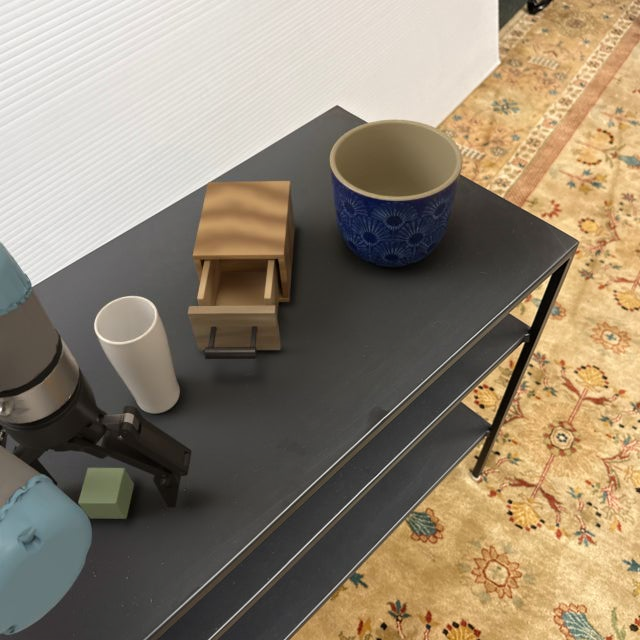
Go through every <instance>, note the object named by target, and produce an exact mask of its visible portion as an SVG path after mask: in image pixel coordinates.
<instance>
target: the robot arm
mask: <svg viewBox="0 0 640 640" xmlns="http://www.w3.org/2000/svg"><path fill="white" fill-rule="evenodd" d="M30 279H31V278H29V276H28V274H27V273H26V272H24V271H23V269H22V268H21V266H20V265H19V264H18V262H17V260H16V259H15V258H14V256H13V255H12V253H10V251H9V250H8V249H7V247H6V246H5V244H3V243H2V242H1V241H0V635H3V634H4V635H6V636H11V635H13V634H14V635H15V634H16V633H19V632H22V631H23V630H25V629H27V628H29V627H30V626H32V625H34V624H35V623H36V622H38V621H40V620H41V619H42V618H44V616H46V615H47V614H48V613H49V612H50V611H51V610H53V608H55V607H56V606H57V604H58V603H60V601H61V600H62V599H63V598H64V597H65V596H66V595H67V593H68V592H69V591H70V590H71V588H72V586H73V585H74V583H75V582H76V580H77V579H78V577H79V576H80V574H81V572H82V570H83V568H84V566H85V564H86V562H87V561H86V560H87V559H86V558H87V554H88V552H89V550H90V548H91V545H92V541H93V539H92V538H93V531H92V530H93V529H92V524H91V520H90V518H89V516H88V515H87V514H86V512H85V511H84V510H83V509H82V507H81V506H80V505H79V504H77V503H76V502H75V501H74V500H73V499H72V498H70V497H69V496H68V495H67V494H66V493H64V491H63V490H62V489H61V488H60V487H58V482H57V480H55V478H54V477H53V476H52V475H51V473H50V472H49V471H48V470H47V469H46V467H45V466H44V464H42V463H41V461H39V459H40V458H41V457H42V456H43V455H44V454H45V453H47V452H49V450H52V451H54V453H55V452H59V453H61V452H68V451H69V452H70V451H71V452H80V453H81V452H82V453H85V454H88V455H90V456H93V457H96V458H98V459H99V460H100V459H102V460H103V459H105V458H107V457H108V458H111V459H114V460H116V461H119V462H121V463H124V464H126V465H129V466H130V467H133V468H136V469H139V470H141V471H143V472H146V473H148V474H151V475H153V480H152V482H153V483H154V484H155V487H156V488H157V490H158V492H159V494H160V495H161V498H162V499H163V500H164V502H165V504H166V505H167V507H168V508H176V505H177V501H178V494H179V488H180V483H181V478H182V477H186V476H188V475H189V470H190V465H191V464H190V463H191V457H192V450H191V449H190V448H189V447H188V446H186V445H185V444H183V443H182V442H180V441H179V440H177V439H175V438H174V437H172V436H171V435H170V434H168V433H166V432H165V431H164V430H162V429H161V428H159V427H157V426H156V425H154V424H153V423H152V422H150V421H149V420H147V419H146V418H144V416H143V415H142V414H141V412H140V410H138V408H137V407H135V406H133V405H125V406H124V407H123V410H122V413H118V414H108V413H107V411H104V410H103V409H101V408H100V407H99V406H98V404H97V402H96V397H95V394H94V391H93V388H92V387H91V384H90V383H89V381H88V380H87V378H86V376H85V375H84V372H82V369H81V368H80V366H79V365H78V362H77V360H76V358H75V357H74V355H73V353H72V352H71V350H70V349H69V347H68V345H67V344H66V343H65V341H64V339H63V338H62V336H61V334H60V333H59V332H58V329H56V327H55V326H54V323H53V322H52V321H51V319H50V316H49V315H48V313H47V311H46V310H45V308H44V306H43V305H42V302H41V301H40V299H39V296H37V293H36V292H35V290H34V288H33V286H32V281H31V280H30ZM8 435H9V437H11V439H13V440H14V441H15V442H16V443H17V444H19V445H14V448H13V450H12V452H11V451H10V450H8V449H7V443H8ZM101 439H102V441H101V445H98V443H99V442H100V440H101Z"/></svg>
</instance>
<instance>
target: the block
mask: <svg viewBox="0 0 640 640" xmlns="http://www.w3.org/2000/svg"><path fill="white" fill-rule="evenodd" d="M134 487H135V484H134V482H133V480H132V478H131V477H130V475H129V473H128V471H127V470H126V468H125V467H87V470H86V472H85V477H84V480H83V484H82V487H81V491H80V494H79V498H78V504H77V505H78V506H79V507H81V508H82V509H83V510H84V512H85V513H86V514H87V516H88V518H89V519H102V520H103V519H105V520H106V519H108V520H109V519H111V520H112V519H114V520H119V519H120V520H127V519H128V514H129V509H130V504H131V501H132V495H133V491H134Z"/></svg>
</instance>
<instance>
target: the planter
mask: <svg viewBox="0 0 640 640" xmlns="http://www.w3.org/2000/svg"><path fill="white" fill-rule="evenodd" d="M463 165H464V164H463V154H462V152H461V149H460V148H459V146H458V145H457V143H456V141H454V139H453V138H452V137H450V136H449V135H448V134H447V133H445V132H443V131H442V130H440V129H438V128H436V127H434V126H432V125H429V124H426V123H423V122H419V121H415V120H408V119H382V120H375V121H370V122H367V123H364V124H361V125H358V126H355V127H354V128H352V129H350V130H348V131H347V132H345V133H344V134H343V135H341V136H340V137H339V138H338V139H337V141H336V142H335V143H334V145H333V146H332V148H331V151H330V154H329V166H330V167H329V169H330V177H331V185H332V193H333V201H334V210H335V217H336V218H335V219H336V225H337V227H338V231H339V233H340V236H341V239H342V240H343V242H344V243H345V245H346V246H347V248H348V249H349V250H350V251H351V252H352V253H353V254H354V255H355V256H356V257H358V258H360V260H363V261H365V262H367V263H369V264H372V265H374V266H377V267H382V268H383V267H384V268H400V267H406V266H410V265H413V264H415V263H418V262H420V261H421V260H423V259H425V258H426V257H428V256H429V255H430V254H431V253H432V252H433V251H434V250H435V249H437V247H438V246H439V244H440V243H441V241H442V239H443V237H444V235H445V234H446V231H447V228H448V225H449V222H450V217H451V213H452V209H453V206H454V201H455V198H456V194H457V189H458V185H459V181H460V177H461V174H462V170H463Z"/></svg>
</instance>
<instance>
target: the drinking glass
mask: <svg viewBox="0 0 640 640" xmlns="http://www.w3.org/2000/svg"><path fill="white" fill-rule="evenodd" d="M93 328H94V332H95V334H96V338H97V341H98V342H99V344H100V347H101V349H102V350H103V352H104V354H105V356H106V358H107V359H108V361H109V362H110V365H112V367H113V369H114V370H115V371H116V373H117V374H118V376H119V377H120V378H121V380H122V382H123V383H124V384H125V386H126V387H127V389H128V390H129V393H130V394H131V395H132V397H133V399H134V400H135V402H136V405H137V406H138V407H139V409H141V410H142V411H144V412H145V413H148V414H155V415H156V414H162V413H165V412H168V411H169V410H170V409H173V407H174V406H175V405H176V404H177V402H178V400H179V399H180V394H181V388H180V385H179V382H178V379H177V376H176V371H175V365H174V362H173V357H172V353H171V348H170V344H169V339H168V334H167V332H166V329H165V325H164V323H163V321H162V318H161V316H160V313H159V311H158V309H157V307H156V305H155V304H154V303H153V302H152V301H151V300H150V299H147V298H146V297H143V296H138V295H127V296H123V297H118V298H116V299H114V300H112V301H110V302H108V303H107V304H105V305H104V306H103V307H102V308H101V309H100V310H99V311H98V313H97V314H96V317H95V319H94V324H93Z"/></svg>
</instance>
